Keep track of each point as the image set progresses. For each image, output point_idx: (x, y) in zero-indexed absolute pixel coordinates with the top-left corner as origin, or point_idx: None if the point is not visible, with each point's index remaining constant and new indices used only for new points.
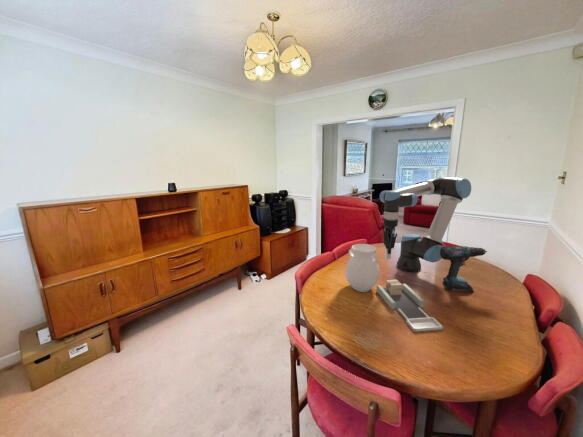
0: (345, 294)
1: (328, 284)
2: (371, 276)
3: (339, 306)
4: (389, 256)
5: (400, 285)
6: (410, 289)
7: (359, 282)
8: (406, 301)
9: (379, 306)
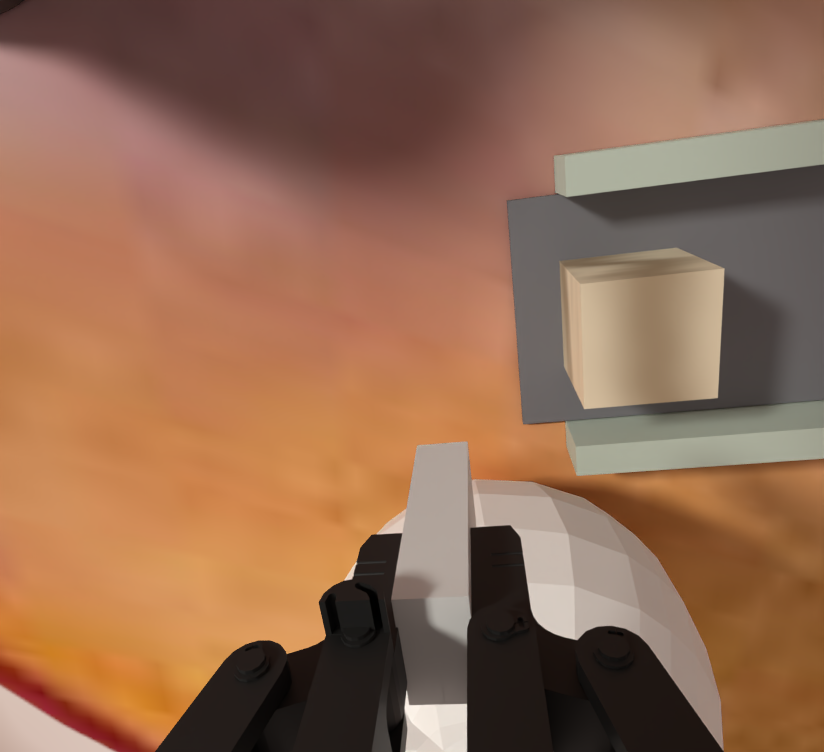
0: None
1: None
2: (710, 665)
3: (756, 739)
4: (469, 490)
5: (720, 288)
6: (715, 151)
7: None
8: (813, 247)
9: (820, 498)
